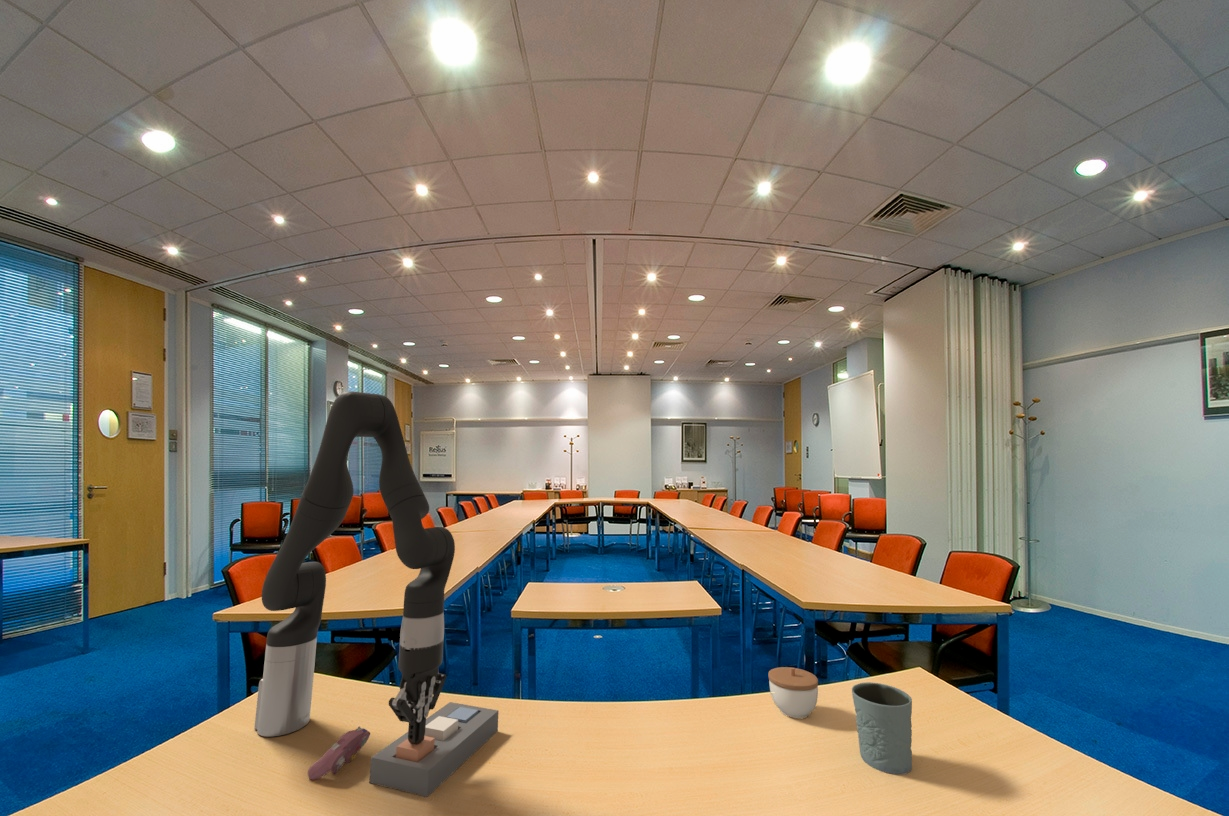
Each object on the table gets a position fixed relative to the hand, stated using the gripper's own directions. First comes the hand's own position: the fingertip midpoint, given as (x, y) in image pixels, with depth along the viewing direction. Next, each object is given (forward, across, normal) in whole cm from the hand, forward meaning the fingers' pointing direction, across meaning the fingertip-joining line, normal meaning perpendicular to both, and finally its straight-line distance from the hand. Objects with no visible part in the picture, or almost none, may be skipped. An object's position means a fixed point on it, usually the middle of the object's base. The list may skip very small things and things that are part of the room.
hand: (416, 741), depth 86 cm
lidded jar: (+6, -47, +65) cm, 81 cm away
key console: (+6, -7, 0) cm, 9 cm away
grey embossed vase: (+6, -32, +81) cm, 87 cm away
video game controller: (+6, +2, -15) cm, 16 cm away
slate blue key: (+4, -14, 0) cm, 15 cm away
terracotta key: (+3, 0, 0) cm, 3 cm away
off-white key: (+3, -7, 0) cm, 8 cm away
